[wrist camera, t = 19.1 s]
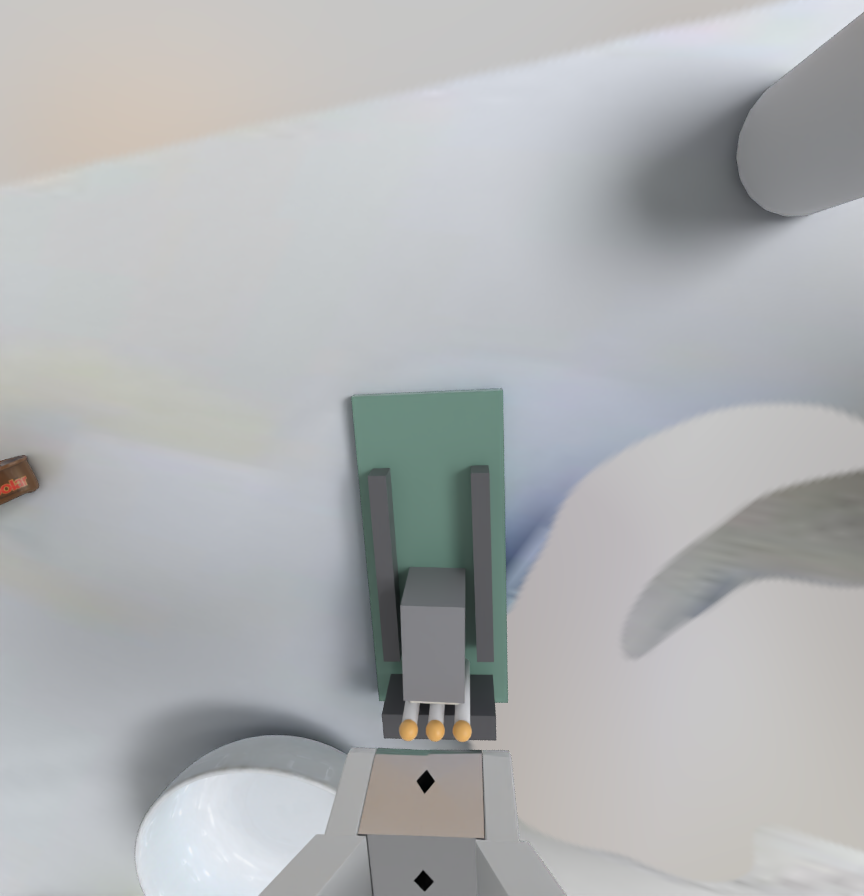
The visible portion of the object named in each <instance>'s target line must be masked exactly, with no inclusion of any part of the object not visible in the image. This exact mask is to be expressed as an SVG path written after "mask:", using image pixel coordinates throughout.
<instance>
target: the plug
mask: <svg viewBox="0 0 864 896" xmlns="http://www.w3.org/2000/svg"><path fill="white" fill-rule="evenodd" d="M400 610H401V640H402V671H403V701H410V703H430V704H453V705H459V703H465V568H437V567H410V568H409V572H408V577H407V581H406V585H405V589H404V593H403V597H402V601H401V605H400Z"/></svg>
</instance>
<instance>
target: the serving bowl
mask: <svg viewBox="0 0 864 896" xmlns="http://www.w3.org/2000/svg"><path fill="white" fill-rule="evenodd" d="M346 757H347V754H345V753H343V752H341V751H340V750H338V749H336V748H333V747H331V746H329V745H327V744H324V743H321V742H318V741H315V740H311V739H307V738H303V737H296V736H288V735H265V736H256V737H251V738H246V739H242V740H238V741H235V742H232V743H229V744H227V745H224V746H222V747H219V748H217V749H215V750H213V751H211V752H210V753H208V754H206V755H204V756H203V757H201V758H200V759H198V760H197V761H195V762H194V763H193V764H191V765H190V766H189V767H188V768H187V769H185V770H184V771H183V772H182V773H181V774H180V775H178V776H177V777H176V778H175V779H174V780H173V781H172V782H171V784H170V785H169V786H168V787H167V788H166V789H165V790H164V791H163V792H162V794H161V795H160V796H159V797H158V798H157V799H156V801H155V802H154V803H153V804H152V806H151V807H150V808H149V810H148V811H147V813H146V815H145V816H144V818H143V820H142V822H141V825H140V828H139V830H138V834H137V838H136V843H135V867H136V872H137V876H138V880H139V883H140V886H141V888H142V891H143V893H144V895H145V896H258V895H259V894H260V893H261V892H262V891H263V890H264V889H265V888H266V887H267V886H268V885H269V884H270V883H271V882H272V880H273V879H274V878H275V877H276V876H277V875H278V874H279V873H280V872H281V871H282V870H283V869H284V868H285V867H286V866H287V865H288V864H289V862H290V861H291V860H292V859H293V858H294V857H295V856H296V855H297V854H298V853H299V852H300V851H301V850H302V849H303V848H304V847H305V845H306V844H307V843H308V842H309V841H310V840H311V839H312V838H313V837H314V836H315V835H316V834H325V830H326V827H327V823H328V820H329V816H330V813H331V809H332V806H333V802H334V799H335V795H336V792H337V788H338V785H339V781H340V778H341V774H342V771H343V767H344V764H345V760H346Z"/></svg>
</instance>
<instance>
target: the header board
mask: <svg viewBox="0 0 864 896" xmlns="http://www.w3.org/2000/svg"><path fill="white" fill-rule="evenodd" d="M351 400H352V410H353V421H354V432H355V443H356V454H357V465H358V475H359V486H360V497H361V508H362V519H363V530H364V540H365V551H366V562H367V573H368V584H369V595H370V605H371V616H372V627H373V638H374V649H375V660H376V670H377V681H378V692H379V701H385V702H384V707H383V711H382V722H383V733H384V738H395V739H404V740H405V741H411V740H413V739H430V740H431V741H434V742H436V741H439V740H441V739H448V740H458V741H459V742H465V741H467V740H496V714H495V703H497V702H499V703H500V702H501V703H508V680H507V679H508V678H507V615H506V554H505V492H504V431H503V390H502V389H480V390H456V391H432V392H409V393H385V394H362V395H353V396H352V397H351ZM410 567H437V568H465V703H459V705H453V704H430V703H410V701H403V671H402V640H401V610H400V605H401V601H402V597H403V593H404V589H405V585H406V581H407V577H408V572H409V568H410Z"/></svg>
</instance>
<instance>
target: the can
mask: <svg viewBox="0 0 864 896" xmlns="http://www.w3.org/2000/svg"><path fill="white" fill-rule="evenodd" d="M736 159H737V165H738V171H739V177H740V180H741V182H742V184H743V186H744V187H745V189H746V191H747V193H748V195H749V196H750V198H752V199H753V200H754V201H755V202H756V203H758V204H759V205H760V206H761V207H762V208H764V209H765V210H767V211H770V212H773V213H776V214H779V215H782V216H807V215H810V214H813V213H816V212H819V211H822V210H825V209H828V208H831V207H834V206H837V205H841V204H844V203H847V202H850V201H853V200H856V199H859V198H862V197H864V12H863V13H862V14H861V15H859V16H858V17H857V18H856V19H854V20H853V21H852V22H851V23H849V24H848V25H847V26H846V27H844V28H843V29H842V30H841V31H839V32H838V33H837V34H836V35H834V36H833V37H832V38H831V39H829V40H828V41H827V42H826V43H824V44H823V45H822V46H821V47H819V48H818V49H817V50H816V51H814V52H813V53H812V54H811V55H809V56H808V57H807V58H806V59H804V60H803V61H802V62H801V63H799V64H798V65H797V66H796V67H794V68H793V69H792V70H791V71H789V72H788V73H787V74H786V75H784V76H783V77H782V78H781V79H779V80H778V81H777V82H776V83H774V84H773V85H772V86H771V87H769V88H768V89H767V90H765V92H764V93H763V94H762V95H761V97H760V98H759V99H758V101H757V102H756V103H755V104H754V106H753V107H752V108H751V109H750V111H749V113H748V115H747V117H746V120H745V122H744V124H743V127H742V129H741V131H740V134H739V140H738V148H737V155H736Z"/></svg>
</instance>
